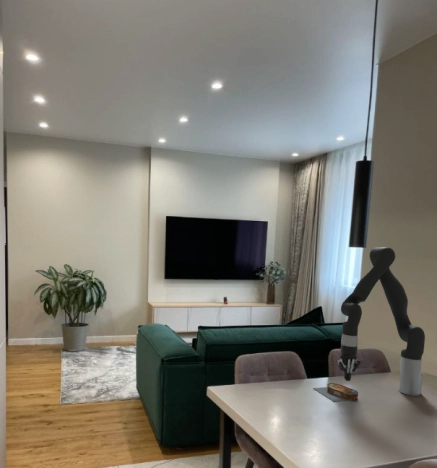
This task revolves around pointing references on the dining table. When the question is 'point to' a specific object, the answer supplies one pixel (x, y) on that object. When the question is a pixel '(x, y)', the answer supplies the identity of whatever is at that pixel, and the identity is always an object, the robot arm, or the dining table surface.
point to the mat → (330, 395)
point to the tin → (342, 391)
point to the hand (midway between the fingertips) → (347, 380)
